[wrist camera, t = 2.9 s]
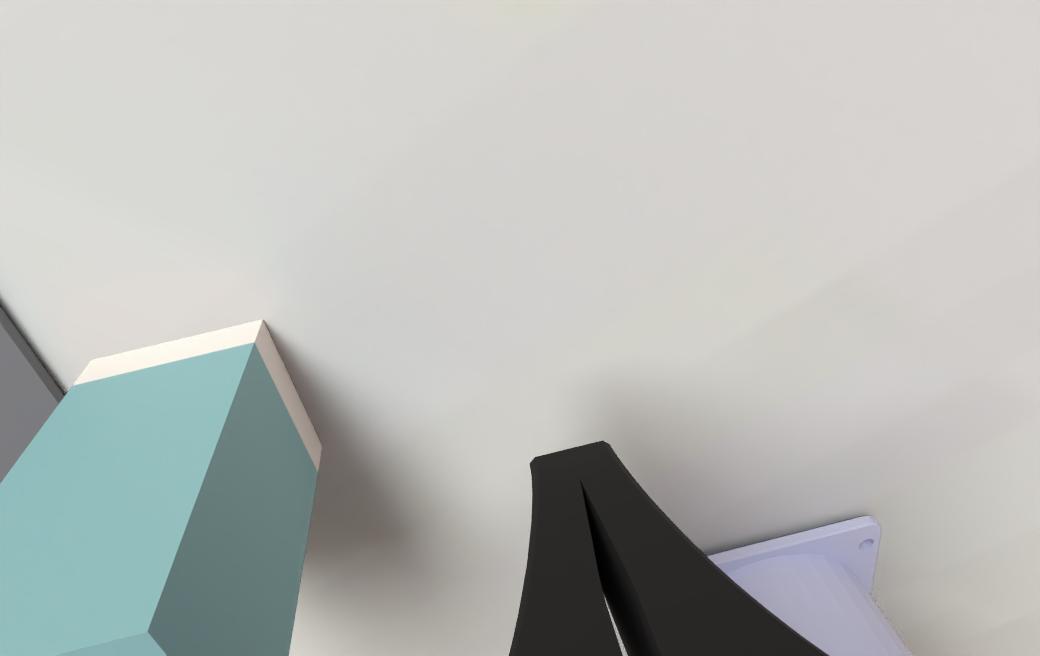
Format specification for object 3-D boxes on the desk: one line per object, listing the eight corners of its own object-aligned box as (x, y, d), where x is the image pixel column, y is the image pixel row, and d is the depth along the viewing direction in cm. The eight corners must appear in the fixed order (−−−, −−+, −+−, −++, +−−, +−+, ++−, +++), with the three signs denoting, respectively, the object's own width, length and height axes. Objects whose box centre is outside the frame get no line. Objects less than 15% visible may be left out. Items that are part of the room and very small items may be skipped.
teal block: (322, 446, 17) (268, 778, 10) (172, 483, 17) (19, 842, 10) (262, 319, 15) (147, 631, 8) (91, 360, 15) (-169, 711, 8)
